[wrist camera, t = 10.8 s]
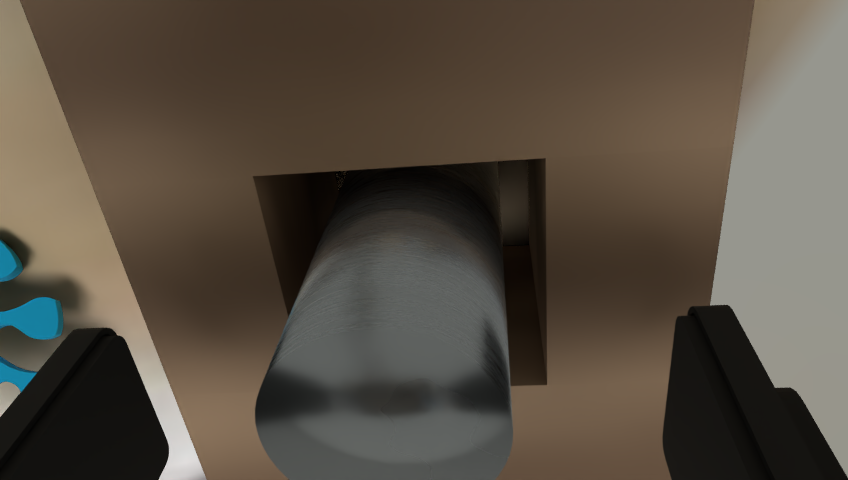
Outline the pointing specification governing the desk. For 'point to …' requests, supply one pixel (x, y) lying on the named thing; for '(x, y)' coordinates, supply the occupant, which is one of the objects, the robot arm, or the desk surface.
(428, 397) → the long pin
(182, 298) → the hole block
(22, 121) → the desk surface
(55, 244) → the desk surface
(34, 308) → the gear
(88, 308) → the desk surface
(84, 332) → the robot arm
